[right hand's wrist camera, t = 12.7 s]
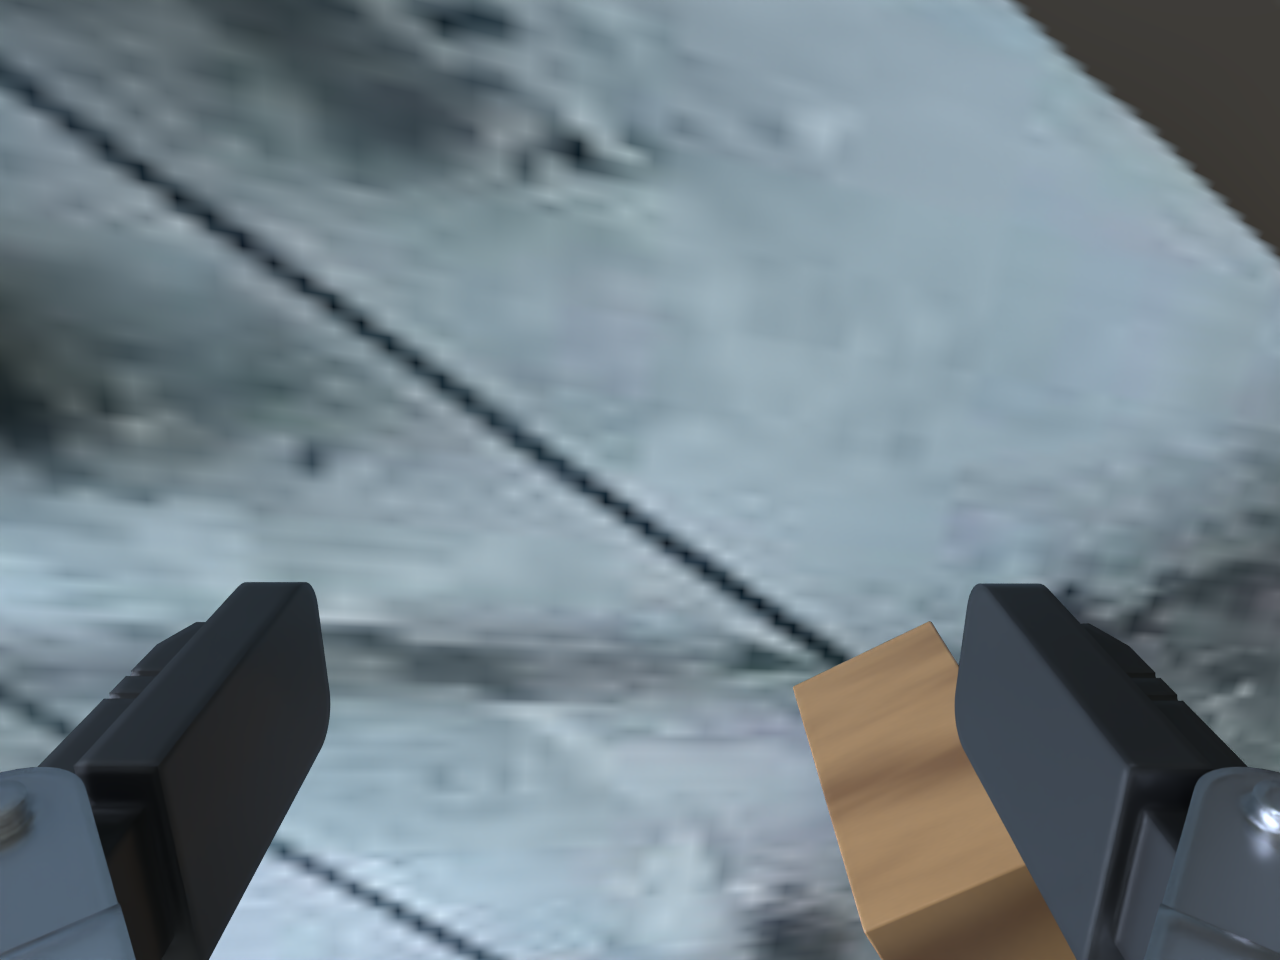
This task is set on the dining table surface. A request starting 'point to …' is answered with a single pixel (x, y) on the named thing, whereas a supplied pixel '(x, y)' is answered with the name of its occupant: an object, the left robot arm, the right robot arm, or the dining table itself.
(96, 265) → the dining table surface
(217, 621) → the right robot arm
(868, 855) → the box
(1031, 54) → the dining table surface
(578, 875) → the dining table surface
